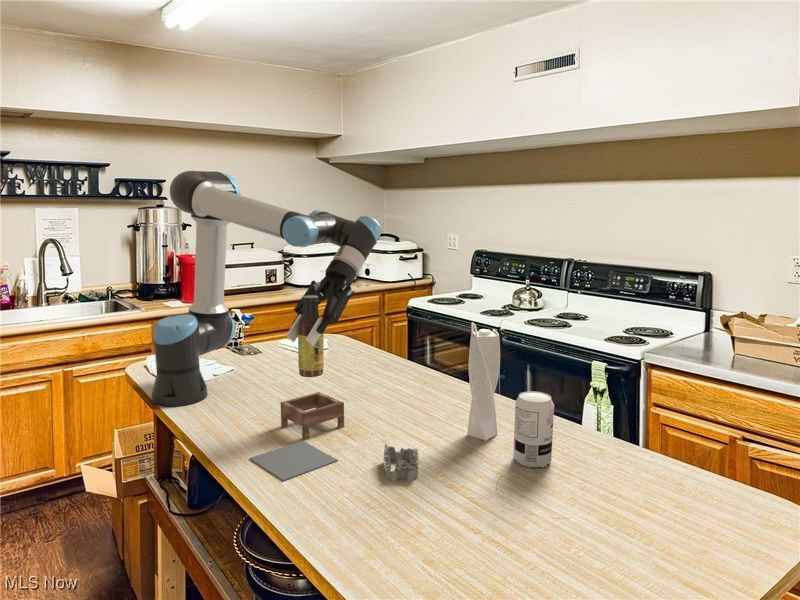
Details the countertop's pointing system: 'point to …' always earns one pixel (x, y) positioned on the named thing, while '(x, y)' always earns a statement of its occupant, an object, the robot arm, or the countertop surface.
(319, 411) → the wooden square frame
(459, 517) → the countertop surface
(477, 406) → the skyscraper
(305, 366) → the sauce bottle
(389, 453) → the egg carton
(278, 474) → the slate mat
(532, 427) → the supplement can
